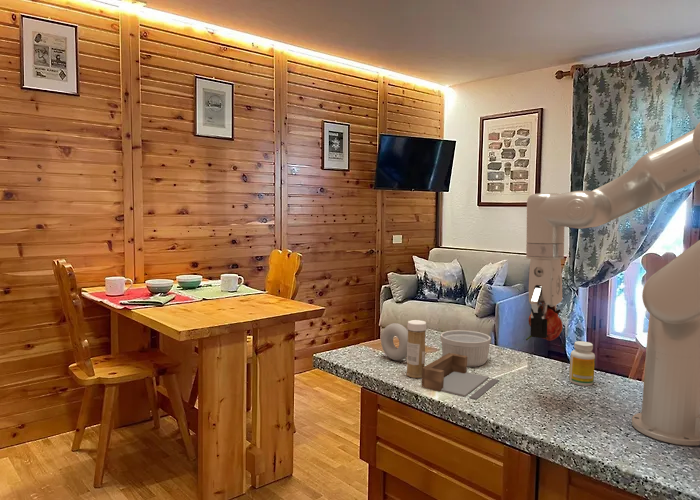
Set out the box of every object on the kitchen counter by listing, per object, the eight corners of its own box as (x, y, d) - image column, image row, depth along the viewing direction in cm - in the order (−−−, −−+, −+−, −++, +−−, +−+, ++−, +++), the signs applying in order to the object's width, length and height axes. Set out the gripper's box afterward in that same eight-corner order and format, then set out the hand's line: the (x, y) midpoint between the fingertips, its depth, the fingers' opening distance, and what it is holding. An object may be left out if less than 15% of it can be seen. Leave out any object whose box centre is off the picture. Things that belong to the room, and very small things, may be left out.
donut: (414, 363, 136) (415, 326, 136) (405, 365, 134) (406, 328, 133) (386, 354, 144) (387, 319, 143) (377, 357, 141) (378, 321, 140)
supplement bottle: (565, 378, 127) (567, 340, 126) (586, 378, 127) (589, 340, 126) (575, 386, 121) (577, 346, 120) (597, 386, 122) (600, 346, 121)
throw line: (499, 380, 124) (499, 379, 124) (476, 399, 112) (476, 398, 112) (492, 379, 125) (492, 378, 125) (469, 397, 113) (469, 397, 113)
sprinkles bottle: (428, 376, 126) (430, 322, 125) (414, 379, 124) (416, 324, 122) (416, 371, 130) (417, 318, 129) (402, 374, 127) (403, 320, 126)
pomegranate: (541, 355, 107) (579, 325, 107) (519, 327, 108) (557, 297, 108) (530, 350, 115) (566, 322, 115) (509, 323, 115) (545, 296, 115)
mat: (488, 378, 126) (488, 376, 126) (465, 396, 113) (465, 395, 113) (456, 371, 130) (456, 370, 130) (429, 388, 118) (430, 386, 118)
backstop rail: (466, 373, 129) (467, 356, 129) (440, 391, 116) (441, 372, 116) (448, 369, 132) (449, 352, 131) (421, 386, 119) (421, 368, 118)
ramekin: (429, 359, 140) (430, 334, 139) (458, 351, 149) (459, 327, 148) (471, 372, 130) (472, 345, 130) (499, 362, 139) (500, 336, 138)
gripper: (553, 255, 101) (552, 344, 102) (572, 249, 115) (571, 328, 117) (514, 253, 105) (514, 339, 107) (537, 248, 120) (536, 324, 121)
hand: (543, 332), depth 112 cm, fingers closed on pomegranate, 7 cm apart
